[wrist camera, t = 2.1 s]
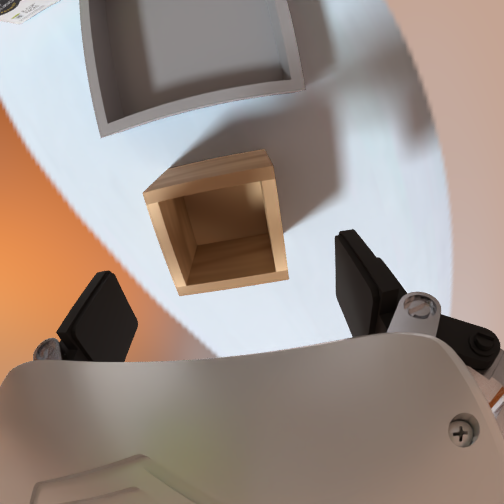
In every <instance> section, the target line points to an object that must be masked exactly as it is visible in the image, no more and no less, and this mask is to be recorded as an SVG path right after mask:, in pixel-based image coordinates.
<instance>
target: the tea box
mask: <svg viewBox="0 0 504 504" xmlns="http://www.w3.org/2000/svg"><path fill="white" fill-rule="evenodd" d="M58 1H60V0H0V21H2V22H9V23H14V24H22V23H23V22H25V21H26V20H28V19H30V18H31V17H33V16H34V15H36V14H37V13H39V12H41V11H42V10H44V9H46V8H48V7H49V6H51V5H53V4H55V3H56V2H58Z"/></svg>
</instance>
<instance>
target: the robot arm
mask: <svg viewBox="0 0 504 504" xmlns="http://www.w3.org/2000/svg"><path fill="white" fill-rule="evenodd" d="M335 263H336V297H337V300H338V302H339V305H340V307H341V310H342V312H343V314H344V317H345V319H346V322H347V324H348V326H349V329H350V331H351V334H352V336H353V337H352V338H347V339H342V340H336V341H330V342H324V343H319V344H314V345H308V346H302V347H296V348H290V349H284V350H277V351H270V352H263V353H256V354H247V355H239V356H230V357H220V358H209V359H198V360H182V361H161V362H124V361H125V358H126V355H127V353H128V350H129V348H130V345H131V342H132V340H133V337H134V335H135V332H136V330H137V327H138V321H137V318H136V317H135V315H134V313H133V311H132V309H131V307H130V305H129V303H128V301H127V299H126V297H125V295H124V293H123V291H122V289H121V287H120V285H119V283H118V281H117V278H116V276H115V275H114V274H113V273H111V272H110V271H103V272H98V273H96V275H95V276H94V278H93V279H92V280H91V282H90V283H89V284H88V286H87V287H86V289H85V290H84V291H83V293H82V294H81V296H80V297H79V298H78V300H77V302H76V303H75V304H74V306H73V307H72V309H71V310H70V312H69V313H68V315H67V316H66V318H65V319H64V321H63V322H62V324H61V326H60V327H59V329H58V330H57V332H56V333H57V334H58V336H59V337H60V339H61V341H60V343H59V342H58V340H57V339H55V338H49V339H47V340H45V341H43V342H42V343H40V345H39V346H38V347H37V348H36V350H35V352H34V354H33V361H30V362H26V363H23V364H21V365H19V366H17V367H15V368H13V369H12V370H11V371H10V372H9V373H8V375H7V376H6V378H5V379H4V381H3V383H2V384H1V386H0V504H504V350H502V349H500V342H499V339H498V338H497V336H496V335H495V334H494V333H493V332H492V331H490V330H488V329H486V328H483V327H480V326H476V325H473V324H470V323H467V322H464V321H461V320H457V319H454V318H451V317H448V316H445V315H442V314H441V306H440V303H439V302H438V300H437V299H436V298H435V297H433V296H431V295H430V294H427V293H424V292H411V293H408V294H407V292H406V291H405V290H404V288H403V287H402V286H401V284H400V283H399V282H398V280H397V279H396V278H395V276H394V275H393V274H392V272H391V271H390V270H389V268H388V267H387V266H386V264H385V263H384V262H383V261H382V259H381V258H378V257H377V258H376V256H375V255H374V254H373V252H372V251H371V250H370V249H369V247H368V246H367V245H366V244H365V242H364V241H363V240H362V239H361V237H360V236H359V235H358V234H357V232H356V231H355V230H354V229H352V230H345V231H340V232H339V235H337V236H335Z"/></svg>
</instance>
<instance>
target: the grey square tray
mask: <svg viewBox="0 0 504 504" xmlns="http://www.w3.org/2000/svg"><path fill="white" fill-rule="evenodd" d="M79 4H80V20H81V31H82V40H83V48H84V56H85V63H86V69H87V75H88V81H89V87H90V92H91V97H92V102H93V107H94V111H95V116H96V120H97V124H98V128H99V132H100V136H101V138H103V137H106V136H109V135H112V134H116V133H119V132H123V131H126V130H128V129H131V128H134V127H137V126H140V125H143V124H146V123H149V122H153V121H156V120H159V119H162V118H166V117H169V116H173V115H177V114H180V113H184V112H188V111H192V110H196V109H200V108H204V107H209V106H213V105H218V104H223V103H228V102H233V101H239V100H244V99H250V98H257V97H263V96H271V95H278V94H287V93H295V92H299V91H303V90H306V89H305V83H304V77H303V72H302V66H301V61H300V56H299V51H298V46H297V41H296V37H295V32H294V28H293V23H292V19H291V15H290V11H289V7H288V3H287V0H79Z"/></svg>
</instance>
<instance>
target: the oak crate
mask: <svg viewBox="0 0 504 504" xmlns="http://www.w3.org/2000/svg"><path fill="white" fill-rule="evenodd" d="M143 196H144V199H145V202H146V206H147V209H148V212H149V215H150V218H151V221H152V224H153V227H154V230H155V233H156V236H157V238H158V241H159V244H160V247H161V250H162V252H163V255H164V258H165V260H166V263H167V266H168V268H169V271H170V274H171V276H172V279H173V281H174V284H175V286H176V289H177V291H178V294H179V296H184V295H191V294H198V293H205V292H212V291H219V290H226V289H232V288H239V287H245V286H252V285H258V284H264V283H270V282H276V281H282V280H288V279H289V276H288V268H287V260H286V252H285V244H284V237H283V229H282V222H281V215H280V208H279V201H278V194H277V187H276V180H275V174H274V167H273V164H272V162H271V161H270V159H269V157H268V155H267V153H266V151H265V149H261V150H255V151H249V152H244V153H238V154H233V155H227V156H222V157H217V158H213V159H208V160H203V161H199V162H194V163H190V164H186V165H182V166H177V167H173V168H169V169H167V170H166V171H165V172H164V173H163V174H162V175H161V176H160V177H159V178H158V179H157V180H156V181H155V182H153V183H152V184H151V185H150V186H149V187H148V188H147V189H146V190H145V191H144V192H143Z"/></svg>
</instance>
